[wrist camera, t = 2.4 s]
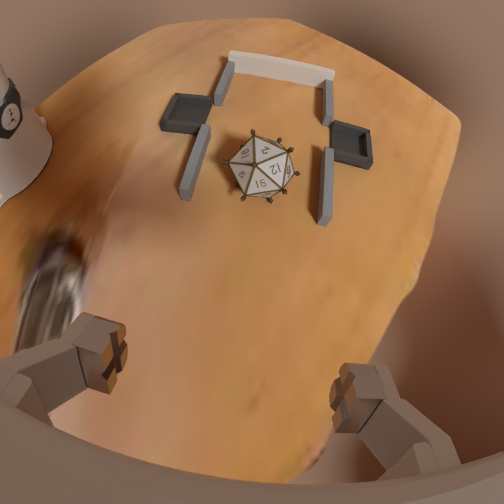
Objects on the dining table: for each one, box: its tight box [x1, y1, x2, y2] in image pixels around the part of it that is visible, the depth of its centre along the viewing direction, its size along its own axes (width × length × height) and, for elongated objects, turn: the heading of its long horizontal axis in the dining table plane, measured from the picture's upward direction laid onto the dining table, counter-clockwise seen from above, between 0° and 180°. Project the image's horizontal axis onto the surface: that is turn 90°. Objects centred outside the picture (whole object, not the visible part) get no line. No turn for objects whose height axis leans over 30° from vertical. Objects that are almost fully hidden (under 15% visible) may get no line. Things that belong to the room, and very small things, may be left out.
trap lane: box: [160, 50, 373, 226], centre depth 41 cm, size 31×29×4 cm
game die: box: [221, 129, 300, 203], centre depth 36 cm, size 9×8×10 cm
